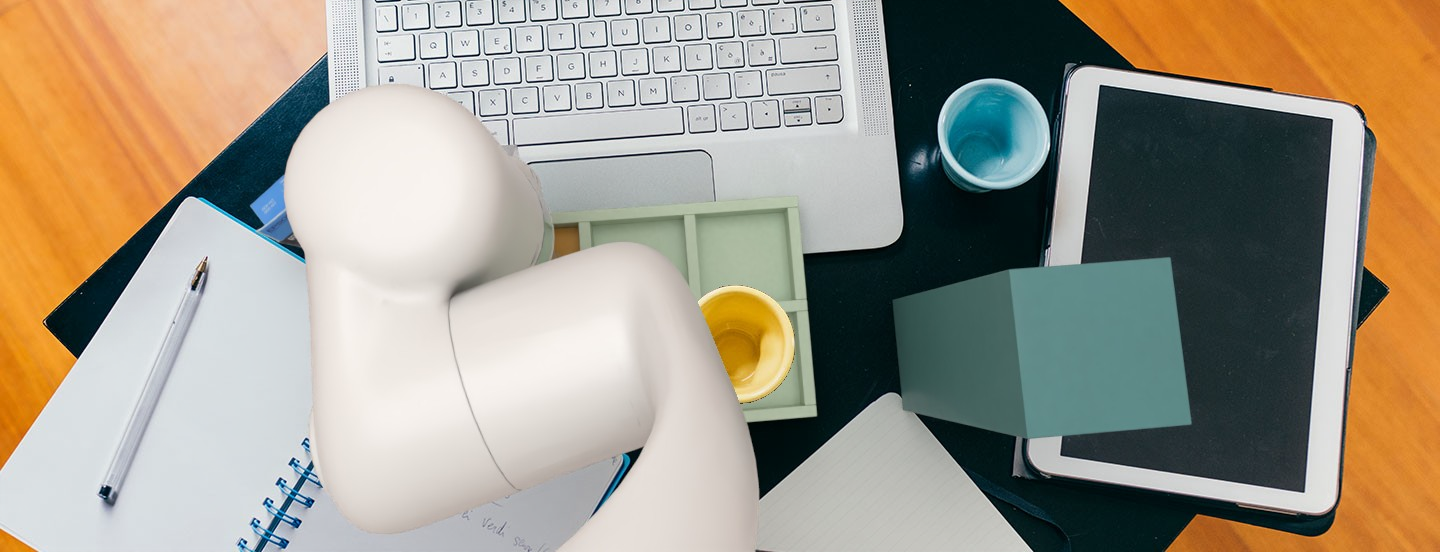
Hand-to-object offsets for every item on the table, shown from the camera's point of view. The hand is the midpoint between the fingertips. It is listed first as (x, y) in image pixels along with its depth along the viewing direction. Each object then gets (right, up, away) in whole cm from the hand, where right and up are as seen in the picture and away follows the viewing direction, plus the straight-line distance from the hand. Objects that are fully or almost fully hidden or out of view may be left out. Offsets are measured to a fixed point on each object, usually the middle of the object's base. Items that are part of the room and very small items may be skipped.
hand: (532, 273), depth 59 cm
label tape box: (-12, +5, +3) cm, 14 cm away
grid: (+7, -3, +3) cm, 9 cm away
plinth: (+30, -6, +4) cm, 30 cm away
